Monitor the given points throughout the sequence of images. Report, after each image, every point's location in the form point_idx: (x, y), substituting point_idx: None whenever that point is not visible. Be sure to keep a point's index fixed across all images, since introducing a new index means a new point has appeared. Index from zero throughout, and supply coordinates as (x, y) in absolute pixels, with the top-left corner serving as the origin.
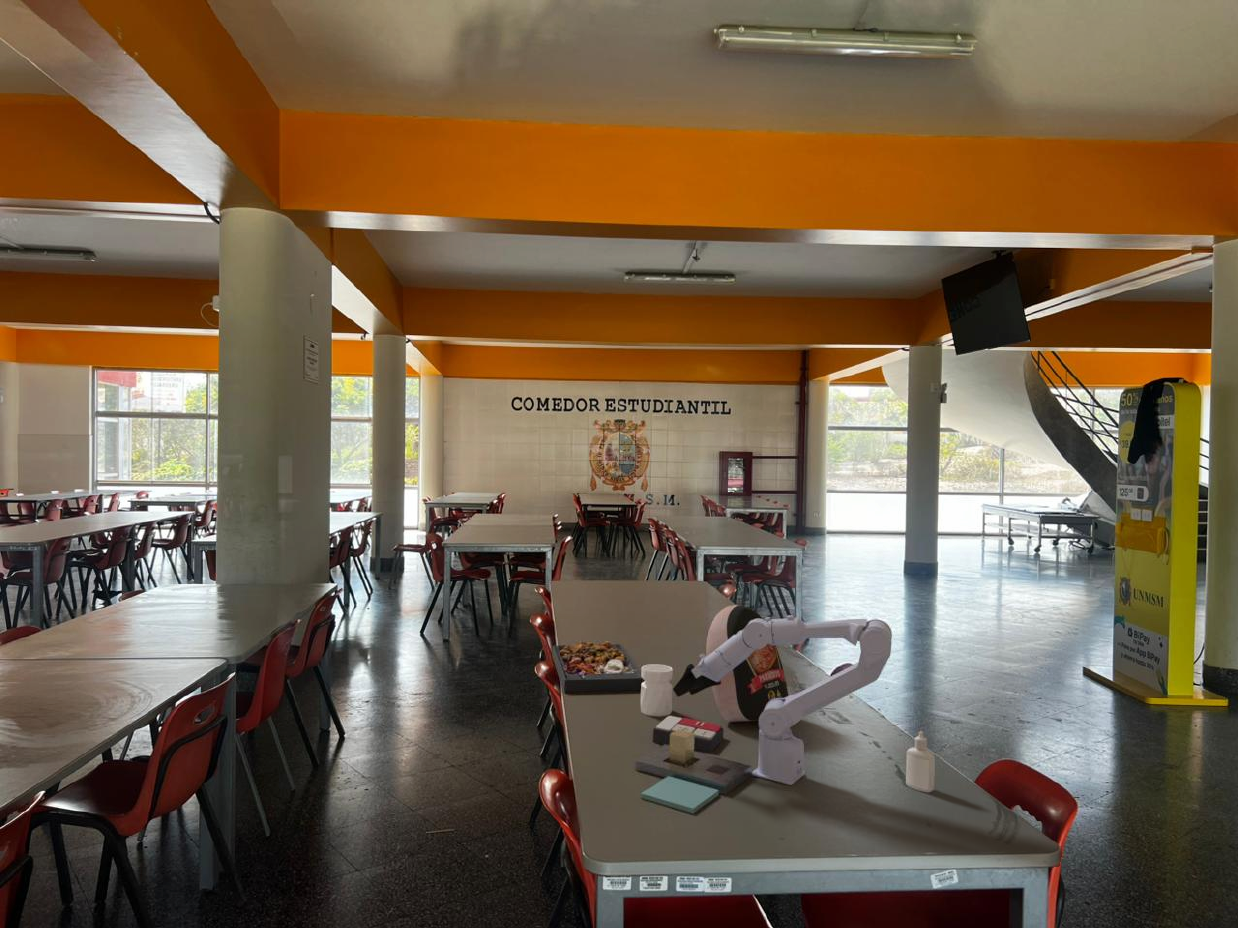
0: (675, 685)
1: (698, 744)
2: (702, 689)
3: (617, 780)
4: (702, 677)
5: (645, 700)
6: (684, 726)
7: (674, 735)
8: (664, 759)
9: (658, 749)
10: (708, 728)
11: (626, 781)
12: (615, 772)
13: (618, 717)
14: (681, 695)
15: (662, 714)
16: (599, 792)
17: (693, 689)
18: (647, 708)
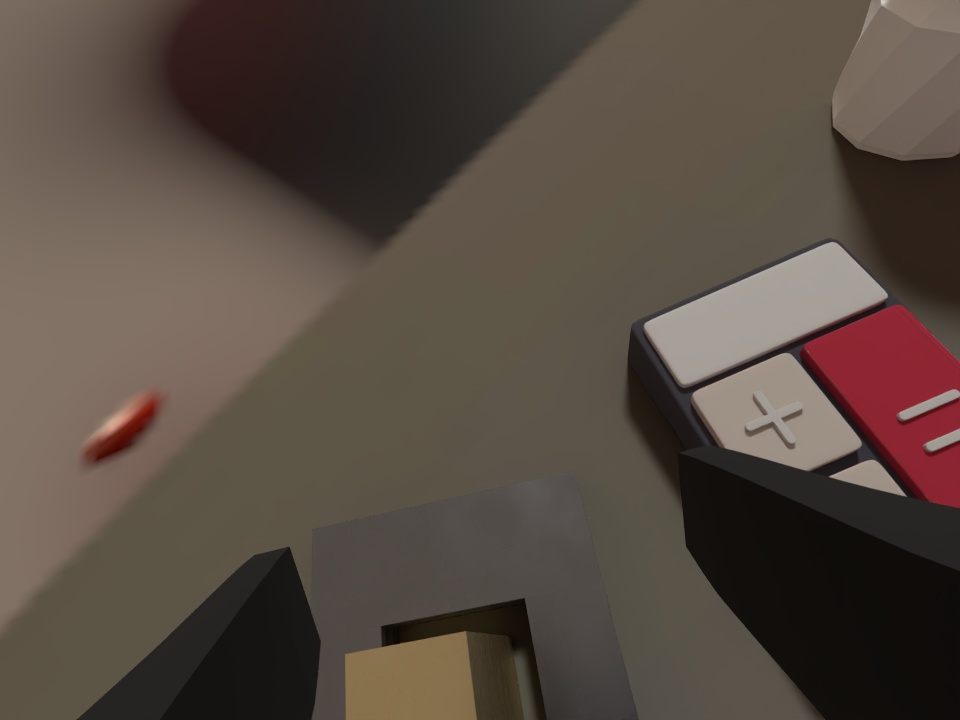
0: (219, 587)
1: None
2: (819, 709)
3: (204, 568)
4: (950, 687)
5: (856, 65)
6: (793, 405)
7: (346, 698)
8: (408, 618)
9: (492, 499)
10: (955, 502)
11: None
12: (265, 503)
13: (701, 115)
14: (311, 686)
15: (902, 154)
16: (82, 604)
17: (724, 554)
18: (846, 106)
